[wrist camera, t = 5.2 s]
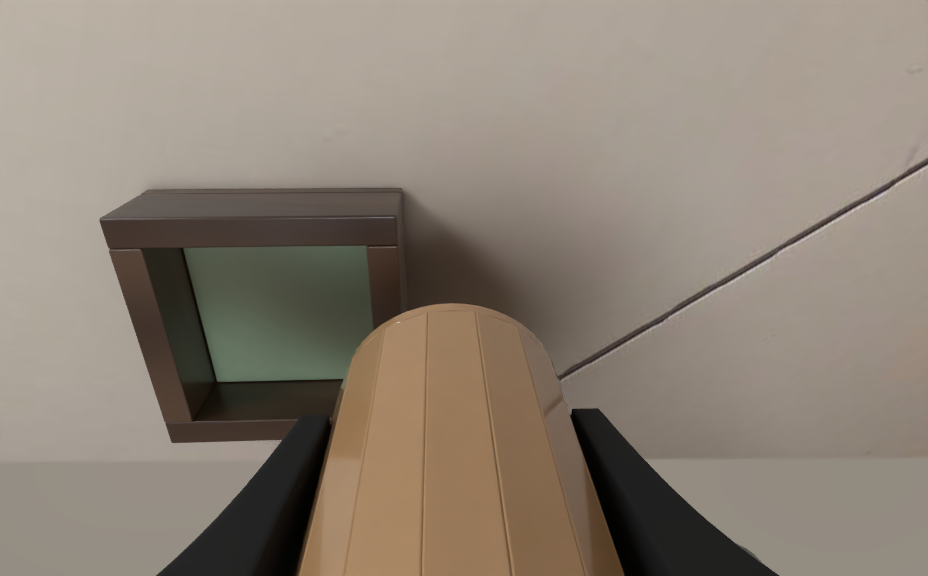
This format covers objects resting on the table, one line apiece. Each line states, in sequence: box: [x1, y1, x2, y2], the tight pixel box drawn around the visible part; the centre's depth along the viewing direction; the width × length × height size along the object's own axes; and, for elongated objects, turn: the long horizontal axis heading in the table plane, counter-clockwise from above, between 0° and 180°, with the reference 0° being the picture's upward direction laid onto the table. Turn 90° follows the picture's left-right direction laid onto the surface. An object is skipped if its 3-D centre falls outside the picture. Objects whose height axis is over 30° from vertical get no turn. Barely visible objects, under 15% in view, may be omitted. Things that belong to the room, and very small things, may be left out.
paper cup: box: [291, 303, 627, 576], centre depth 11 cm, size 6×6×7 cm
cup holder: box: [100, 188, 408, 443], centre depth 19 cm, size 9×9×3 cm
